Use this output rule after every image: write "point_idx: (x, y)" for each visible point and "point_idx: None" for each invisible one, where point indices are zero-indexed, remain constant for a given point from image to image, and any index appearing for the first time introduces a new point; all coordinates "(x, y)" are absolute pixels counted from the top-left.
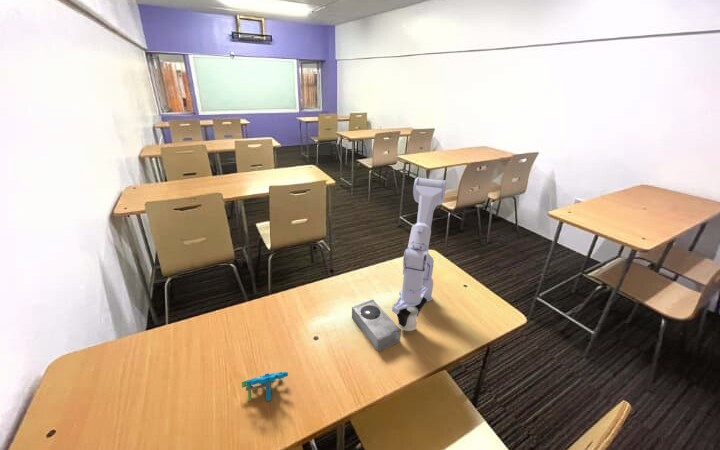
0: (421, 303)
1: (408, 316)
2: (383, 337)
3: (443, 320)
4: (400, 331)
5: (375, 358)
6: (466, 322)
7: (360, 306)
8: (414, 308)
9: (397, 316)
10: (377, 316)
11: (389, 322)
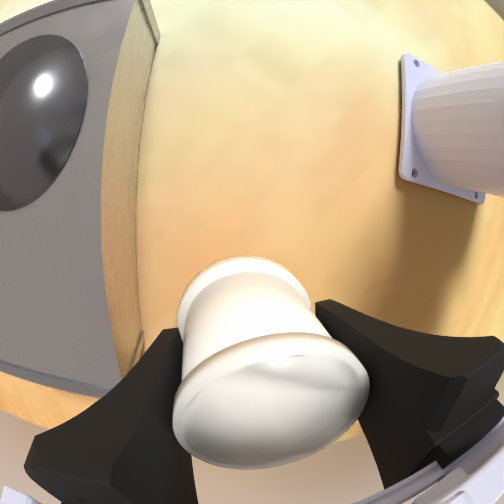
0: (388, 482)
1: (191, 478)
2: (14, 373)
3: (416, 325)
4: None
5: None
6: None
7: (11, 35)
8: (334, 421)
9: (128, 374)
10: (22, 198)
11: (77, 311)
